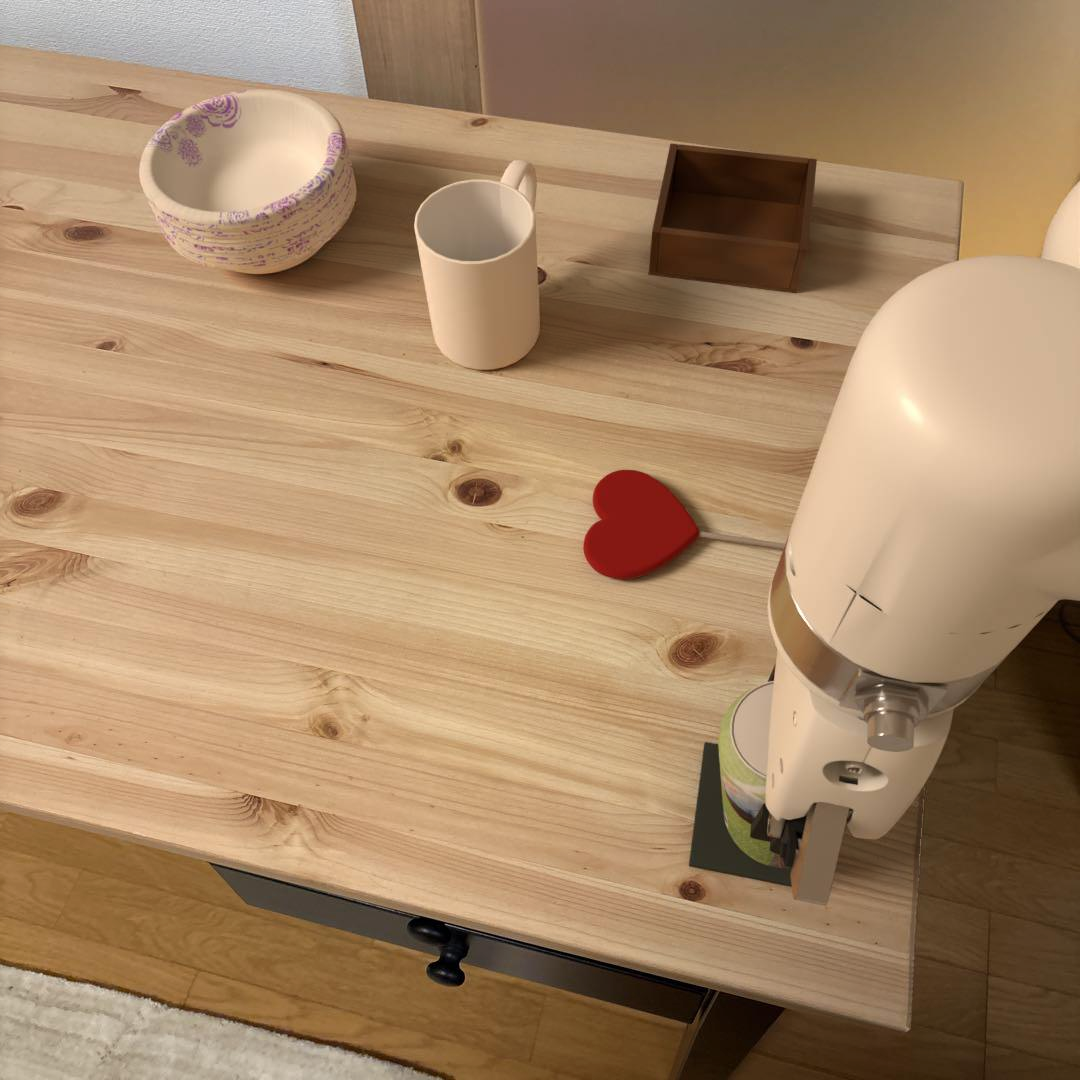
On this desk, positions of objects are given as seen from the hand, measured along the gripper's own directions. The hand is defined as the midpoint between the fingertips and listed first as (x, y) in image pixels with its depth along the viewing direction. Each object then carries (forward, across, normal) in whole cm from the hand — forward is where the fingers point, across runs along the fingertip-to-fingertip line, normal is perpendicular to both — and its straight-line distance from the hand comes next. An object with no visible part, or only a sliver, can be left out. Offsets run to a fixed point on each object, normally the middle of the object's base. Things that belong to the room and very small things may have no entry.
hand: (790, 767), depth 48 cm
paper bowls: (+9, +39, +43) cm, 58 cm away
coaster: (+9, 0, 0) cm, 9 cm away
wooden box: (+9, +44, +7) cm, 46 cm away
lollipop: (+9, +17, +5) cm, 20 cm away
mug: (+9, +34, +23) cm, 42 cm away
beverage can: (+7, 0, 0) cm, 7 cm away
